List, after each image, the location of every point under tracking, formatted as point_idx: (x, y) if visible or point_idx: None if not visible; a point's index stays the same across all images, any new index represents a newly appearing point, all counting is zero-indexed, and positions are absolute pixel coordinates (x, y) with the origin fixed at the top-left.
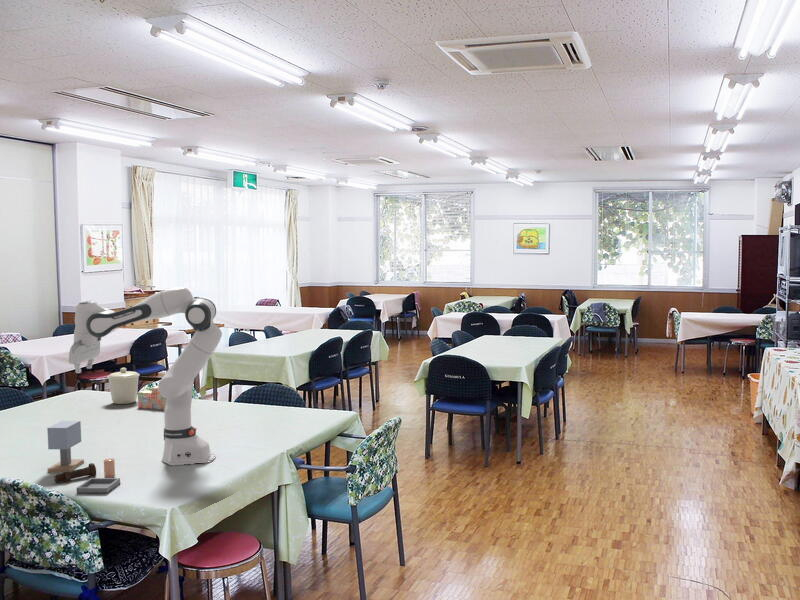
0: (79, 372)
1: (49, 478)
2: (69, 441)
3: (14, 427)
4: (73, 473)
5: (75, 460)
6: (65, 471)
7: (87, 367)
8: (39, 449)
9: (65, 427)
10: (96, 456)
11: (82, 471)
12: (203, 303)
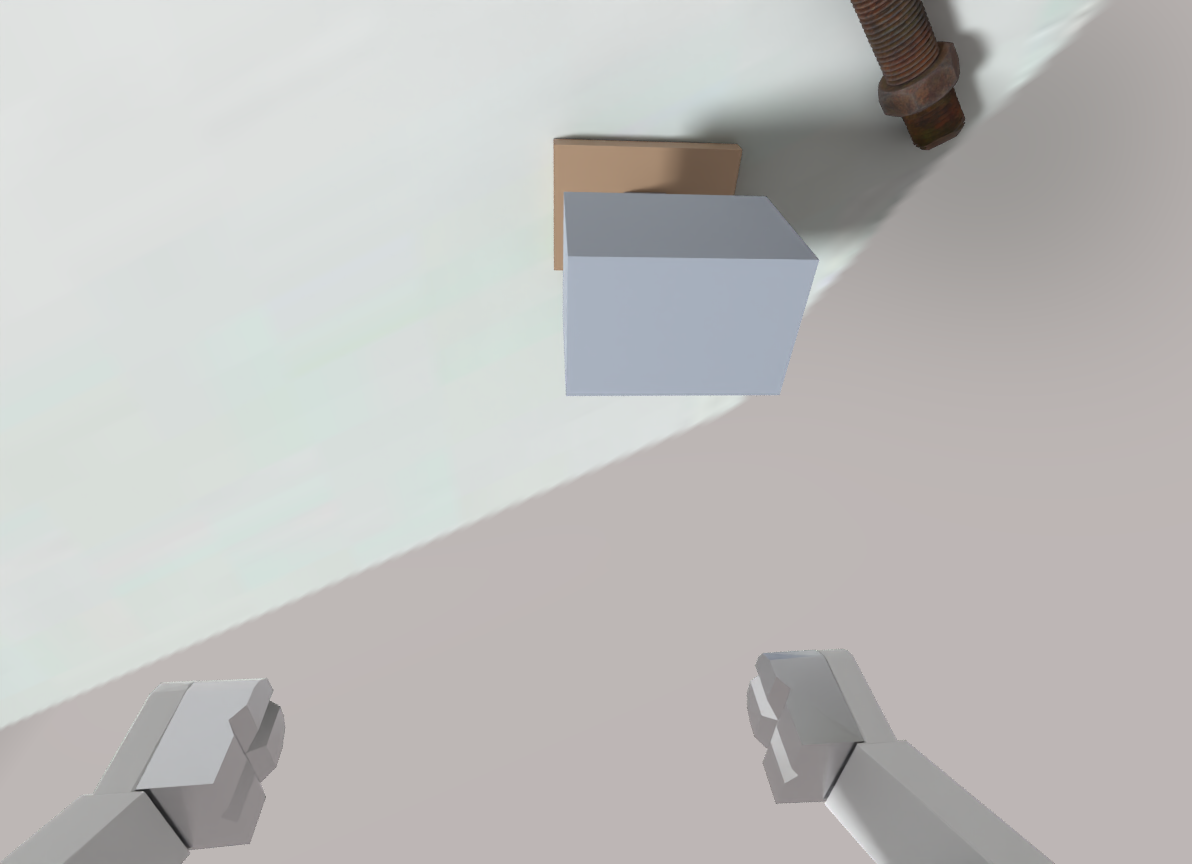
0: (852, 657)
1: (824, 204)
2: (745, 212)
3: (98, 662)
4: (932, 37)
5: (575, 189)
6: (944, 89)
7: (268, 744)
8: (351, 464)
9: (800, 274)
10: (411, 117)
11: None
12: None
